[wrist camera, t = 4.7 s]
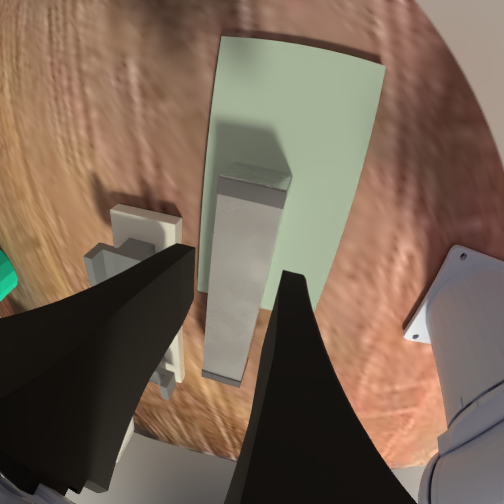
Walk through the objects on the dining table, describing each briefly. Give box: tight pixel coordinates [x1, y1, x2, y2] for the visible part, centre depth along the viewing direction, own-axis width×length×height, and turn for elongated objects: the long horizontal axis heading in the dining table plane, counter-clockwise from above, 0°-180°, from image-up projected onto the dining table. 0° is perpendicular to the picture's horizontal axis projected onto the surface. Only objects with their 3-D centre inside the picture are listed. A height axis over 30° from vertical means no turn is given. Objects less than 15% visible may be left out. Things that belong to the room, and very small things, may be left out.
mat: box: [198, 36, 386, 312], centre depth 16 cm, size 8×16×1 cm, turn 172°
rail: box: [202, 162, 293, 388], centre depth 18 cm, size 3×16×3 cm, turn 171°
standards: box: [83, 204, 185, 400], centre depth 21 cm, size 5×18×4 cm, turn 172°
